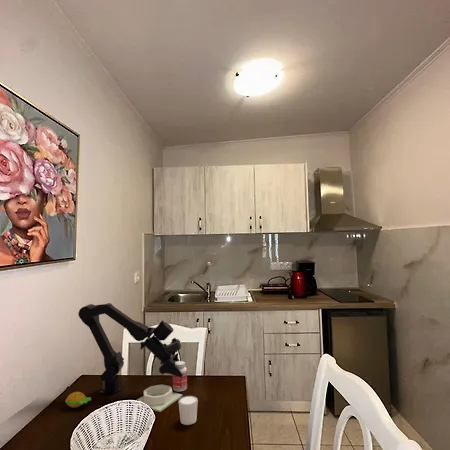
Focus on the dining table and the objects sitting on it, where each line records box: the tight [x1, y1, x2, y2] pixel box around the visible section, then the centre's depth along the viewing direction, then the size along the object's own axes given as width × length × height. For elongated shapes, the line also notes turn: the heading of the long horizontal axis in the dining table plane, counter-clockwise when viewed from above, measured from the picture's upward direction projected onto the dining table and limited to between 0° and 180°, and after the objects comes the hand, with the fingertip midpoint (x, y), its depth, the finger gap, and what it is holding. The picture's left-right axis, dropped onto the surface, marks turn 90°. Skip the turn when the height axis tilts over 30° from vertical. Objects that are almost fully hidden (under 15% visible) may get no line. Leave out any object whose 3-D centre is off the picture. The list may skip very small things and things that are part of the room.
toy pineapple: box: [64, 391, 92, 409], centre depth 125 cm, size 7×10×5 cm
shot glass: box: [178, 395, 199, 426], centre depth 113 cm, size 7×7×7 cm
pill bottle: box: [172, 360, 188, 393], centre depth 138 cm, size 6×6×11 cm
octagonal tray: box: [136, 384, 183, 413], centre depth 128 cm, size 14×14×4 cm
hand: (182, 373), depth 138 cm, fingers closed on pill bottle, 6 cm apart
